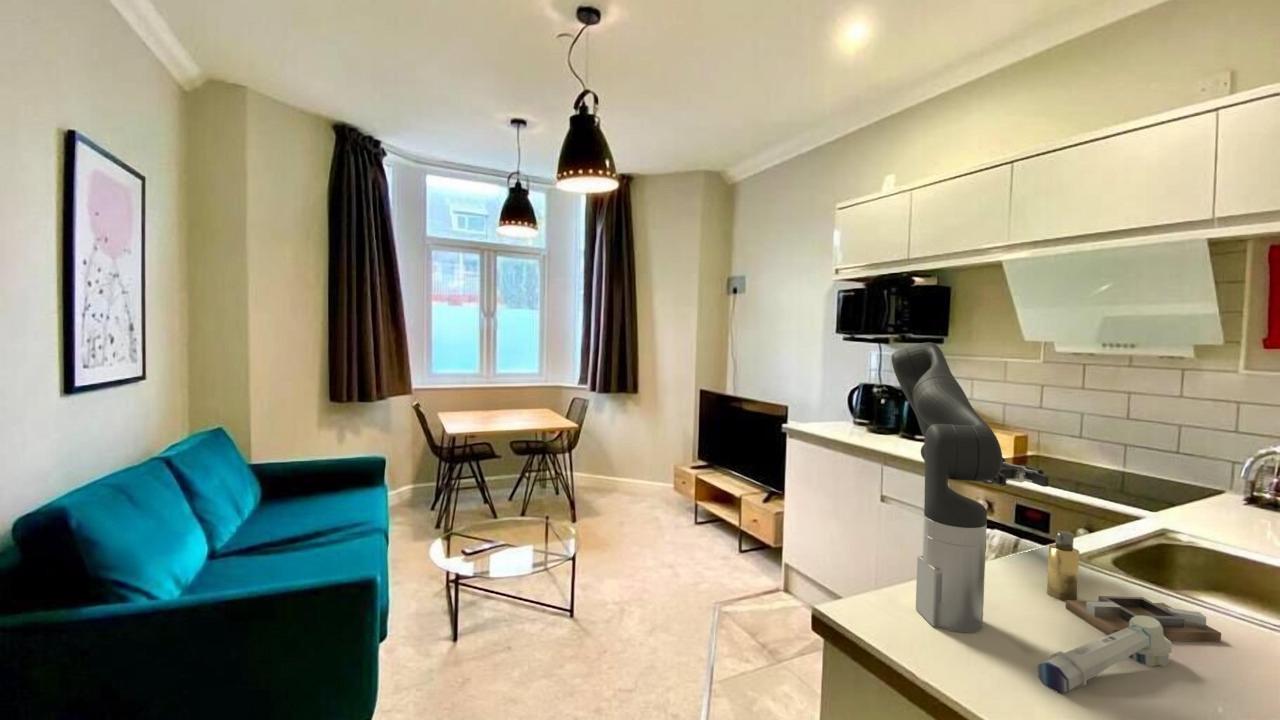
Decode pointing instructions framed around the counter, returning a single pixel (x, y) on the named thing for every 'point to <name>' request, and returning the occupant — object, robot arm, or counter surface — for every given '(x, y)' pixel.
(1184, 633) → the walnut plate
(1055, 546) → the gold perfume bottle
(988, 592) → the counter surface
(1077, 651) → the grey long angled piece
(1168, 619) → the collar and shafts
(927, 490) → the robot arm
